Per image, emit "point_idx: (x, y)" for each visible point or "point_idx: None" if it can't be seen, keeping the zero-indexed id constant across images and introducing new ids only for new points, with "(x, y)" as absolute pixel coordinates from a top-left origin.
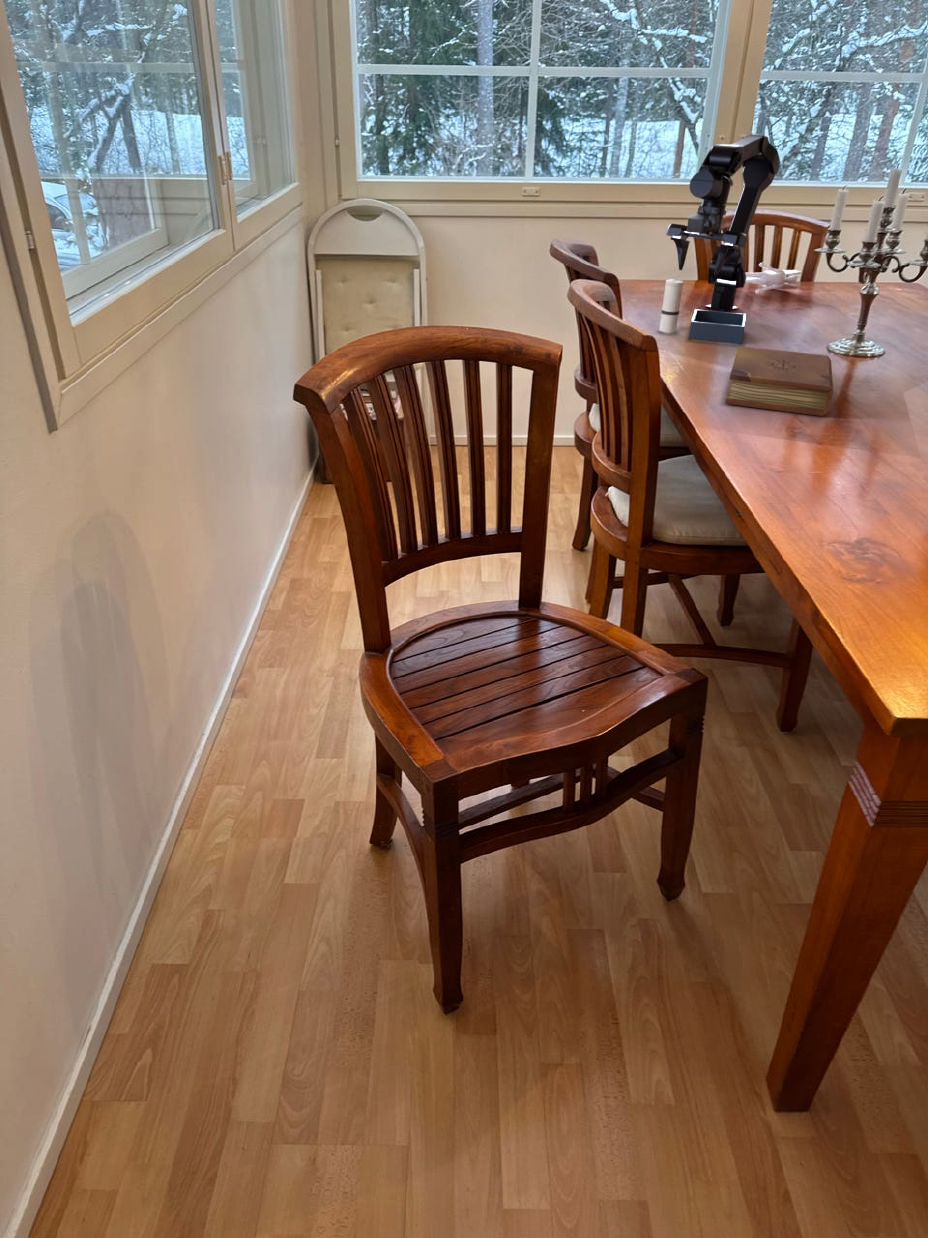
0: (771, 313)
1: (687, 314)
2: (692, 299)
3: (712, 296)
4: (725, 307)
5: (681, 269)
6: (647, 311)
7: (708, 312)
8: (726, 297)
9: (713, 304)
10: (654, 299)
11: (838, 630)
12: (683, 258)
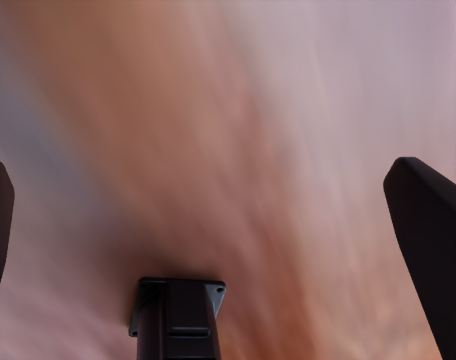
0: (17, 351)
1: (247, 167)
2: (295, 330)
3: (206, 312)
4: (151, 298)
5: (389, 173)
6: (410, 102)
7: None
8: (154, 328)
9: (193, 288)
10: (404, 266)
11: None
12: (446, 265)
